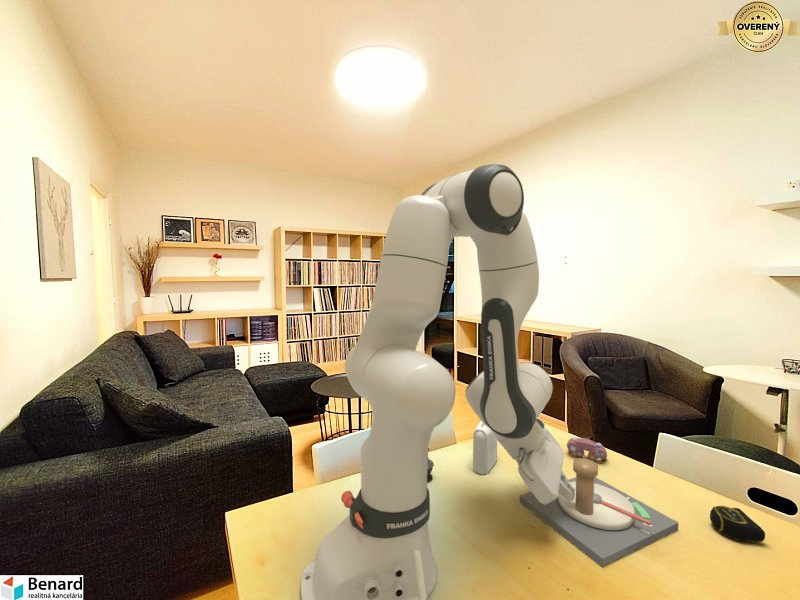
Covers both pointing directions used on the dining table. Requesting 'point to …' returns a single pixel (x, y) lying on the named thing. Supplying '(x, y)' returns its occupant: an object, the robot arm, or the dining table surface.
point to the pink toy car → (587, 448)
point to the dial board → (600, 541)
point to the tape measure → (736, 524)
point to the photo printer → (484, 449)
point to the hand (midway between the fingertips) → (572, 496)
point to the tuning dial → (597, 501)
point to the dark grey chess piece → (429, 469)
